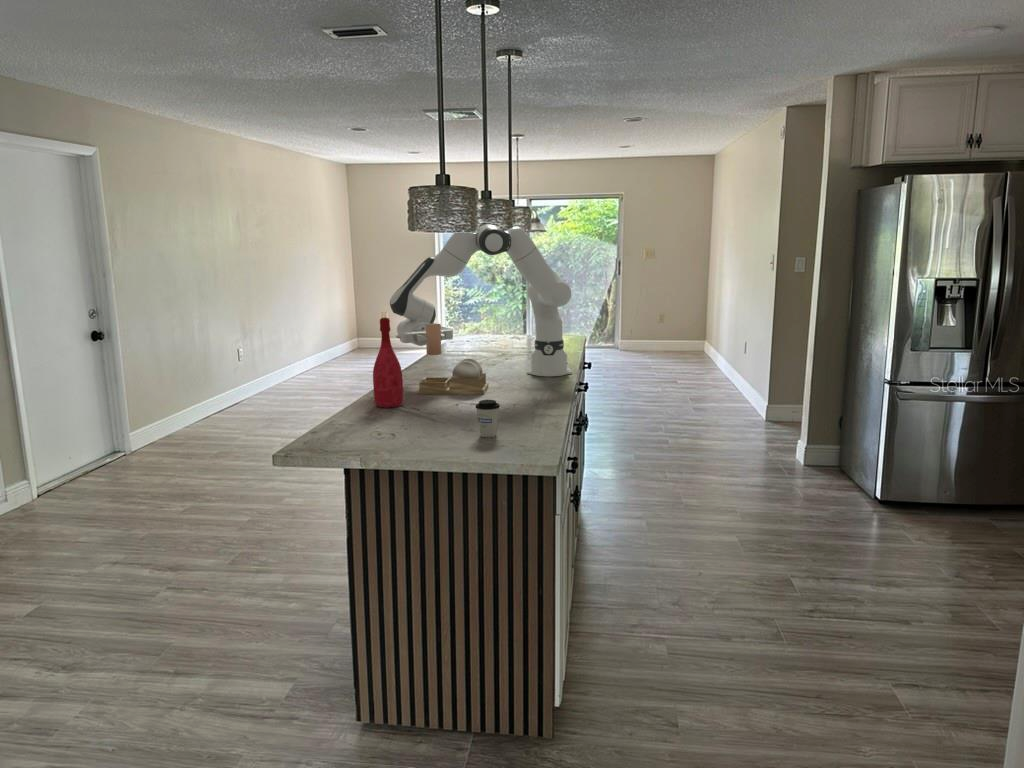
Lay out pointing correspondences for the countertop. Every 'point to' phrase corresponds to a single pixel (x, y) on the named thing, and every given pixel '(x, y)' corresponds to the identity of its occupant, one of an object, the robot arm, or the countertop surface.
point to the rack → (457, 380)
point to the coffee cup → (488, 417)
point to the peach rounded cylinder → (433, 339)
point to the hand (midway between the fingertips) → (434, 338)
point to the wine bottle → (387, 372)
